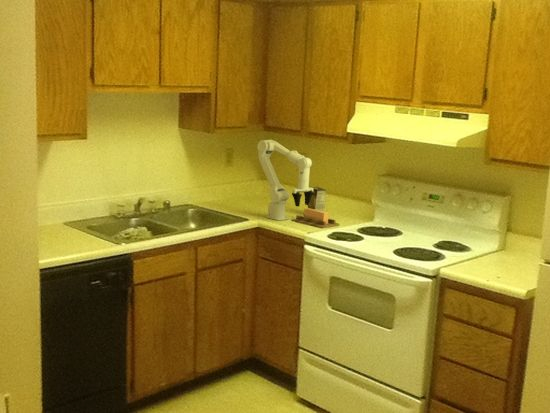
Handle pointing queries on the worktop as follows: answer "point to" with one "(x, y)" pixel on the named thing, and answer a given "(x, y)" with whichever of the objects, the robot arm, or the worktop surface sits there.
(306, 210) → the orange rectangular block
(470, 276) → the worktop surface
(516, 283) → the worktop surface
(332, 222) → the drying rack
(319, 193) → the coffee box
